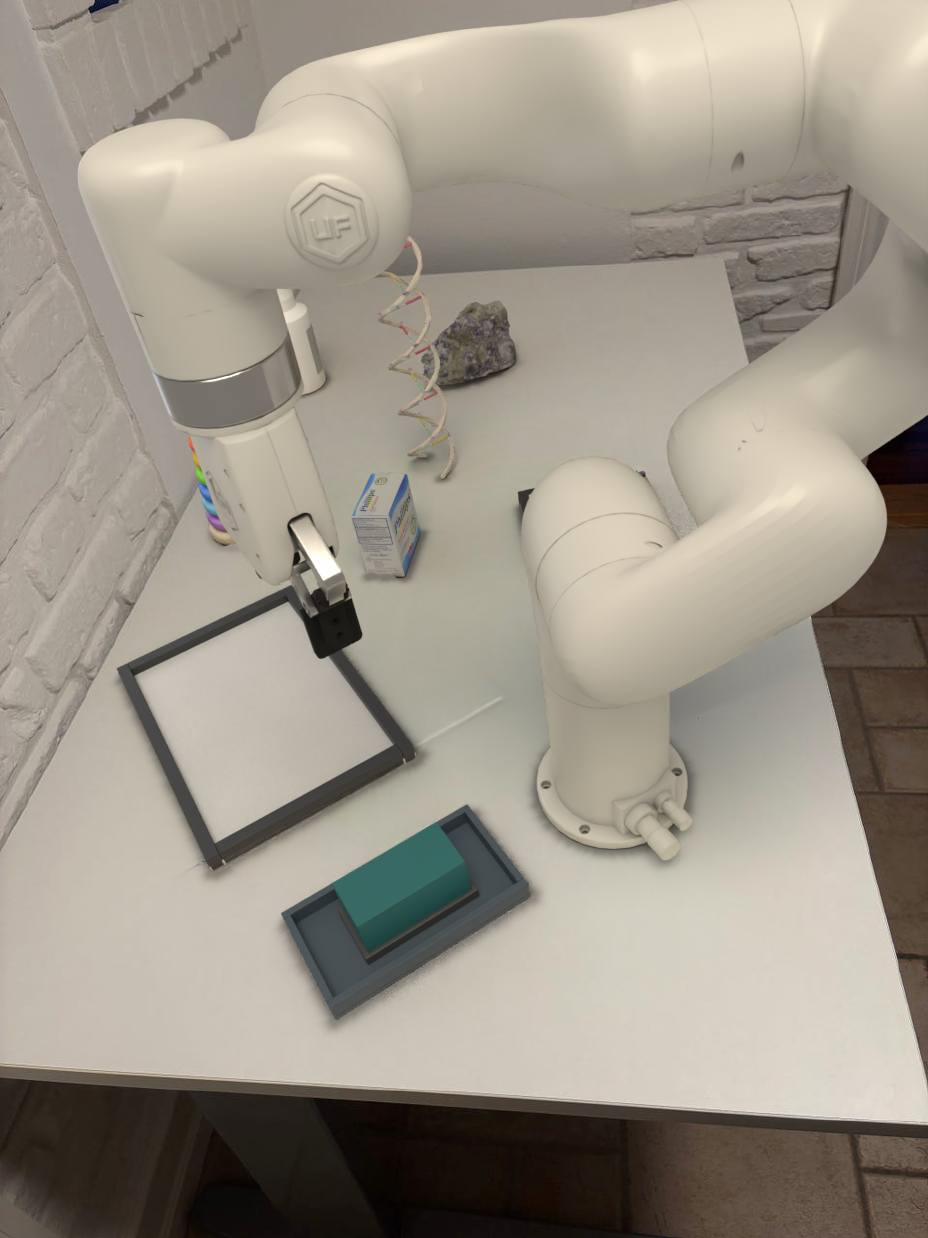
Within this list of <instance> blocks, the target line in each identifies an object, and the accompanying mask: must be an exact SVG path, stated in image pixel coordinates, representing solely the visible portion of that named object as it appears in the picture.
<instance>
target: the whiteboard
mask: <svg viewBox="0 0 928 1238" xmlns="http://www.w3.org/2000/svg"><path fill="white" fill-rule="evenodd" d="M303 608H304V607H303V605H302V603H301V601H300V599H299V597H298V595H297V593H296V591H295V589H294V587H293V585H292V584H290V585H287V586H285V587H284V588H282V589H279V590H277V591H275V592H273V593H271V594H269V595H267V596H264V597H263V598H261V599H258V600H255V601H254V602H252V603H250V604H247V605H246V606H243V607H242V608H239V609H237V610H235V611H233V612H231V613H229V614H227V615H225V616H223V617H220V618H218V619H216V620H214V621H212V622H210V623H208V624H206V625H204V626H202V627H200V628H198V629H195V630H193V631H191V632H190V633H187V634H185V635H183V636H181V637H178V638H177V639H174V640H172V641H171V642H168V643H166V644H163V645H161V646H160V647H158V648H156V649H154V650H151V651H150V652H147V653H145V654H142V655H141V656H139V657H137V658H135V659H132V660H130V661H128V662H126V663H124V664H123V665H120V666H118V667H116V671H117V673H118V675H119V677H120V679H121V682H122V683H123V685H124V688H125V691H126V692H127V694H128V697H129V699H130V701H131V703H132V705H133V708H134V710H135V711H136V714H137V716H138V718H139V720H140V722H141V724H142V727H143V729H144V732H145V733H146V735H147V738H148V740H149V742H150V744H151V746H152V748H153V751H154V752H155V755H156V757H157V759H158V761H159V763H160V766H161V768H162V770H163V772H164V774H165V777H166V778H167V780H168V783H169V785H170V787H171V789H172V792H173V794H174V796H175V798H176V800H177V802H178V805H179V806H180V809H181V811H182V812H183V815H184V817H185V819H186V821H187V823H188V826H189V828H190V830H191V833H192V834H193V837H194V839H195V841H196V843H197V846H198V847H199V849H200V852H201V854H202V856H203V857H204V861H205V862H206V864H207V866H208V868H209V869H210V870H211V872H212V873H213V872H215V871H217V870H219V869H221V868H222V867H224V866H226V865H227V864H230V863H231V862H233V861H236V860H237V859H238V858H240V857H242V856H243V855H246V854H248V853H249V852H252V851H253V850H254V849H256V848H258V847H260V846H262V845H263V844H265V843H267V842H269V841H271V840H272V839H274V838H276V837H278V836H280V835H281V834H283V833H285V832H287V831H289V830H291V829H292V828H295V827H296V826H297V825H299V824H301V823H303V822H304V821H306V820H308V819H310V818H312V817H314V816H315V815H317V814H319V813H321V812H323V811H324V810H326V809H328V808H330V807H331V806H333V805H335V804H337V803H338V802H340V801H342V800H344V799H346V798H348V797H350V796H351V795H353V794H355V793H357V792H358V791H360V790H362V789H363V788H366V787H367V786H369V785H371V784H372V783H374V782H376V781H378V780H379V779H381V778H384V777H385V776H387V775H388V774H390V773H393V772H394V771H396V770H397V769H399V768H401V767H403V766H405V765H407V764H408V763H410V762H412V761H413V760H416V759H417V754H416V750H415V747H414V744H413V742H411V740H410V739H409V738H408V736H407V735H406V734H405V732H404V731H403V729H401V727H400V726H399V724H398V722H396V720H395V719H394V718H393V717H392V716H391V714H390V713H389V711H388V710H387V709H386V707H385V706H384V704H383V703H382V702H381V701H380V699H379V698H378V696H377V695H376V694H375V693H374V691H373V690H372V689H371V688H370V686H369V685H368V683H367V682H366V681H365V679H364V678H363V677H362V676H361V674H360V673H359V672H358V671H357V669H356V668H355V667H354V665H353V664H352V662H351V661H350V660H349V658H348V657H347V656H346V655H345V653H344V652H343V651H342V649H341V650H339V651H337V652H335V653H334V654H332V655H330V656H328V657H326V658H324V659H319V658H318V657H317V656H316V654H315V653H314V651H313V648H312V645H311V642H310V640H309V637H308V634H307V631H306V628H305V626H304V623H303V620H302V617H301V614H300V611H299V610H301V609H303Z"/></svg>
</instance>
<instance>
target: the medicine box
mask: <svg viewBox="0 0 928 1238" xmlns="http://www.w3.org/2000/svg"><path fill="white" fill-rule="evenodd" d="M415 507H416V506H415V503H414V499H413V494H412V489H411V485H410V481H409V477H408V474H407V473H404V472H378V473H377V472H374V473H373V472H372V473H370V475H369V477H368V480H367V482H366V484H365V486H364V489H363V491H362V493H361V494H360V497H359V499H358V502H357V504H356V506H355V508H354V510H353V511H352V514H351V516H350V520H351V524H352V528H353V530H354V535H355V537H356V538H355V539H356V541H357V544H358V547H359V551H360V555H361V557H362V561H363V565H364V568H365V571H366V573H371V574H392V576H394V577H401V578H402V577H403V578H405V576H406V573H407V570H408V568H409V565H410V564H411V560H412V557H413V554H414V551H415V549H416V546H417V543H418V540H419V538H420V535H421V529H420V525H419V521H418V516H417V512H416V508H415Z"/></svg>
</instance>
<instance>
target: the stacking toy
mask: <svg viewBox="0 0 928 1238" xmlns="http://www.w3.org/2000/svg"><path fill="white" fill-rule="evenodd" d="M188 446H189V448H190V450H191V451H192V452H193V454H192V458H193V462H194V465H195V466H196V468H195V474H196V478H197V480H198V490H199V491H198V492H199V493H200V494H201V504H202V506H203V508H204V510H205V511H206V512H205V516H206V519H207V521H208V530H209V533H210V536H211V537H212V538H213V540H215V541H216V542H218V543H219V544H221V545H225V546H230V545H234V544H235V542H234V541H233V539H232V538H231V537H230V535H229V534H228V532H227V531H226V529H225V528H224V526H223V525H222V523H221V521H220V519H219V517H218V515H217V513H216V510H215V508H214V505H213V502H212V499H211V496H210V493H209V490H208V487H207V484H206V481H205V478H204V476H203V473H202V470H201V467H200V464H199V461H198V458H197V456H196V453H195V450H194V447H193V444H192V441H191V438H190V435H189V436H188ZM235 545H236V544H235Z"/></svg>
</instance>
